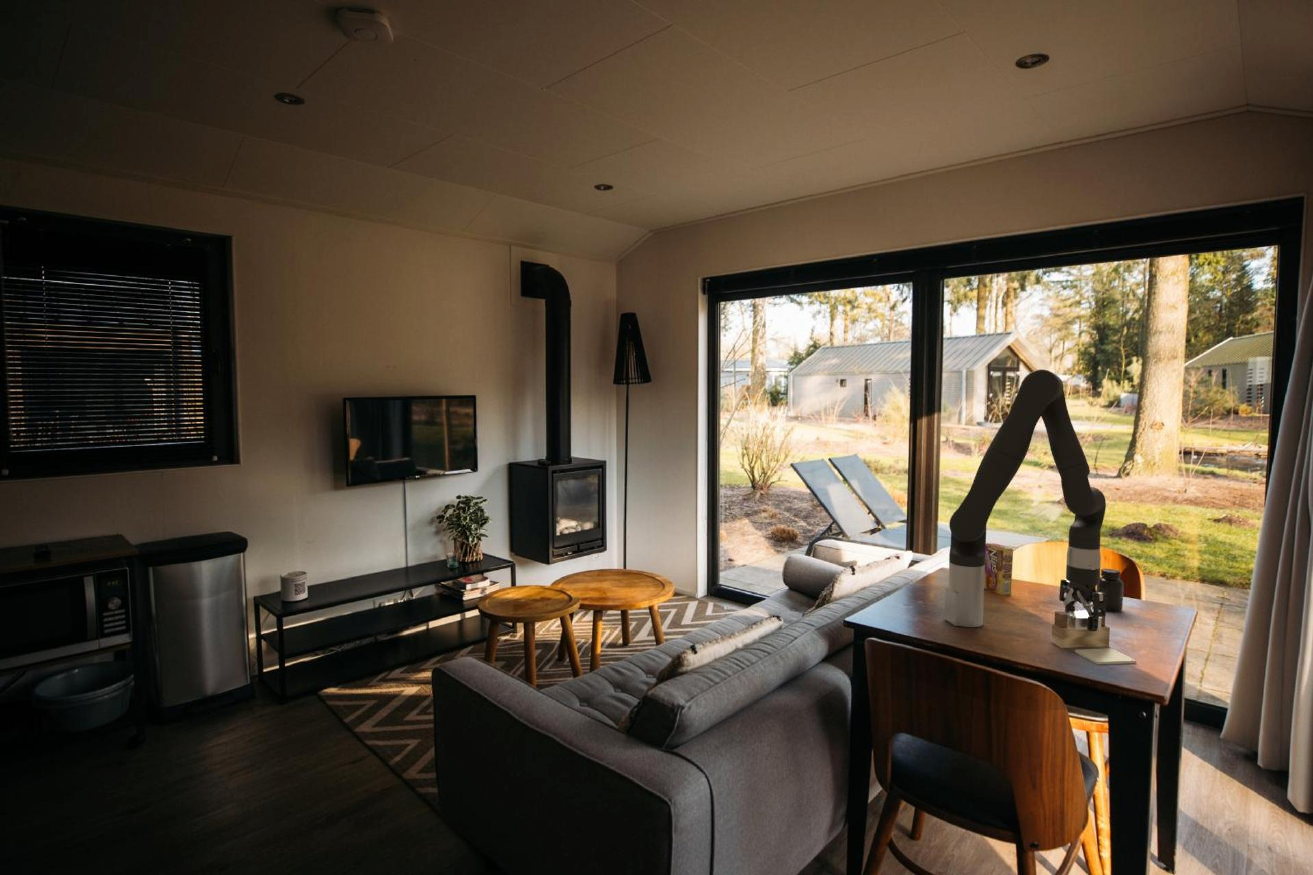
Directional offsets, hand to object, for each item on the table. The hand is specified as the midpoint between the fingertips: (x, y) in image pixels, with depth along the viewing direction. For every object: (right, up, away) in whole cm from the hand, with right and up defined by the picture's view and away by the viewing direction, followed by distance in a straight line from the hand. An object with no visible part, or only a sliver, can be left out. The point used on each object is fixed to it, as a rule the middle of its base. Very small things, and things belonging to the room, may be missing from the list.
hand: (1080, 625), depth 181 cm
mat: (+1, -6, -9) cm, 10 cm away
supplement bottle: (+27, -3, +30) cm, 40 cm away
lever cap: (0, 0, 0) cm, 0 cm away
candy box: (+2, -2, +49) cm, 49 cm away
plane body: (0, -5, 0) cm, 5 cm away
